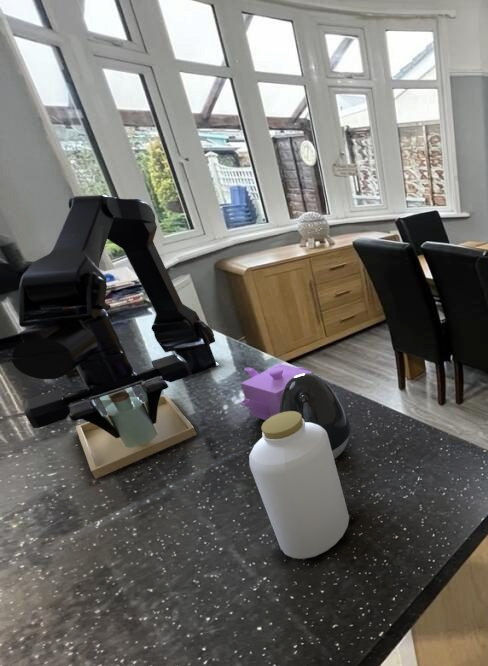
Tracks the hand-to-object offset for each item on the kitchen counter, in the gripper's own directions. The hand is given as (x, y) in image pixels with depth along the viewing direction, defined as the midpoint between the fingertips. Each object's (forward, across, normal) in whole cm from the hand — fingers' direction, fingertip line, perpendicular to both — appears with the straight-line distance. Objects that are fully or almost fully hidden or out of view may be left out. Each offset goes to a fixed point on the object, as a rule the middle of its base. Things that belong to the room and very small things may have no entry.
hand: (136, 429), depth 66 cm
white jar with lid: (+4, -10, +40) cm, 42 cm away
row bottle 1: (+4, 0, -11) cm, 11 cm away
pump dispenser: (+4, -18, +26) cm, 32 cm away
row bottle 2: (+4, 0, -6) cm, 7 cm away
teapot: (+4, -19, +10) cm, 22 cm away
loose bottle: (+2, 0, 0) cm, 2 cm away
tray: (+4, 0, -6) cm, 7 cm away
